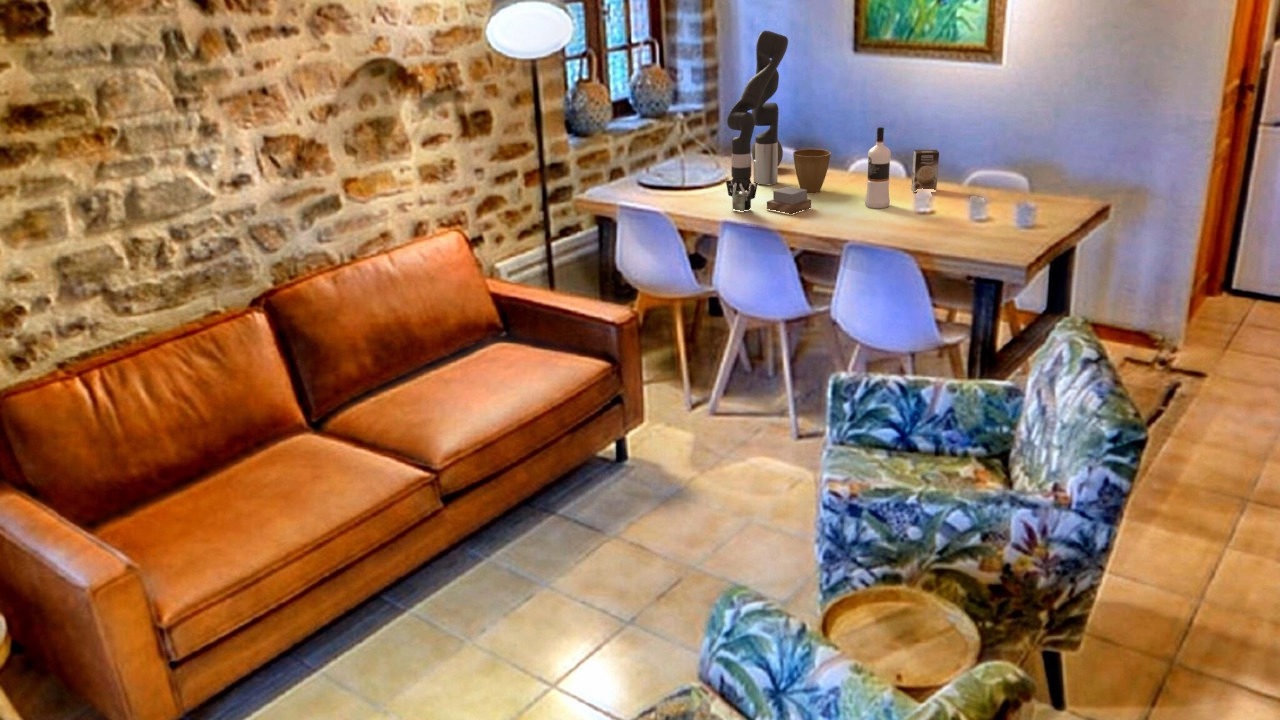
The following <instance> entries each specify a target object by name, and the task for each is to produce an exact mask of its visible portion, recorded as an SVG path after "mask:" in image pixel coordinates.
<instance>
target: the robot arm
mask: <svg viewBox="0 0 1280 720" xmlns="http://www.w3.org/2000/svg"><path fill="white" fill-rule="evenodd" d="M788 45H789V38H788V37H787V36H785V35H783V34H780V33H776V32H774V31H769V30H763V31H761V32H760V33H759V35H758V38H757V41H756V47H755V50H756V53H755V56H756V57H755V58H756V70H755V75H754V76H752V77H751V78H750V79H749V80H748V82H746V85H745V87H744V89H743V91H742V94H741V96H740V98H739V100H738V101H737V102H736V103H735V104H734V106H733V108H731V110H730V111H729V113H728V115H727V119H726V123H727V127H728V128H729V129H731V130H734V131H740V134H739V136H735V137H733V138H732V140H731V159H730V163H731V164H730V165H731V166H730V167H731V178H732V179H728V180H726V181H725V185H726V189H727V195H728V196H729V197H731V198H732V196H733V195H736V194H739V193H742V194H743V195H744V197H745V210H749V209H750V207H751V208H752V200H754V199H756V194H757V188H758V184H756V183H754V182H757V183H759V184H774V183H777V184H778V178H779V177H778V169H779V166H778V141H779V138H778V136H779V135H778V131H779V130H778V129H779V127H778V126H779V113H780V112H779V110H780V109H779V106H778V103H777V102H768V101H769V99H771V98H772V97H773V96H774V95H775V93H776V92H777V90H778V88H779V82H780V74H779V70H778V67H779V65H780V63H782V61H783V59H784V57H785V54H786V52H787V49H788ZM749 111H751V112H749ZM755 126H757V127H768V126H769V127H768V129H767V130H765V131H763V132H761V133H758V134H756V136H755V138H754V139H755V141H754V142H755V160H753V182H752V181H751V178H752V146H751V141H752V138H753V134H754V129H755ZM774 185H775V184H774ZM747 196H748V197H747Z"/></svg>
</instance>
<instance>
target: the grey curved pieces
mask: <svg viewBox="0 0 1280 720" xmlns="http://www.w3.org/2000/svg"><path fill="white" fill-rule="evenodd" d="M783 153H784V150H783V146H782V144H781V143H780V140H778V167H779V166H780V165H781V163H782V160H783V156H784V155H783ZM751 158H752V160H753V161H754V160H755V141H754V143H753V144H752V146H751Z"/></svg>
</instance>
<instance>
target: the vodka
mask: <svg viewBox="0 0 1280 720" xmlns="http://www.w3.org/2000/svg"><path fill="white" fill-rule="evenodd" d="M884 133H885V128H884V127H883V126H878V127H877V128H876V142H875V145H874V146H873V147H871V148H870V149H869V150H868V152H867V156H868V159H867V180H866V182H867V183H866V195H865V199H864V205H865V206H866V207H867V208H868V209H877V210H878V209H879V210H880V209H885V208H887V207H889V206H890V203H891V202H890V201H891V198H890V192H889V191H890V168H891V167H890V166H891V156H892V155H891V154H892V152H891V150H890V149H889V148H888V147H887V146H886V145H884V138H885V137H884Z"/></svg>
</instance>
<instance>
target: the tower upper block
mask: <svg viewBox="0 0 1280 720" xmlns="http://www.w3.org/2000/svg"><path fill="white" fill-rule="evenodd" d="M772 195H773V196H772V197H773V198H772V200H773V201H775V202H780V203H785V204H790V205H793V204H796V203H799V202H802V201H806V200H807V199H808V193H807V190H805V189H800V187H794V186H785V187H781V188H779V189H775V190H773V193H772Z"/></svg>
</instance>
